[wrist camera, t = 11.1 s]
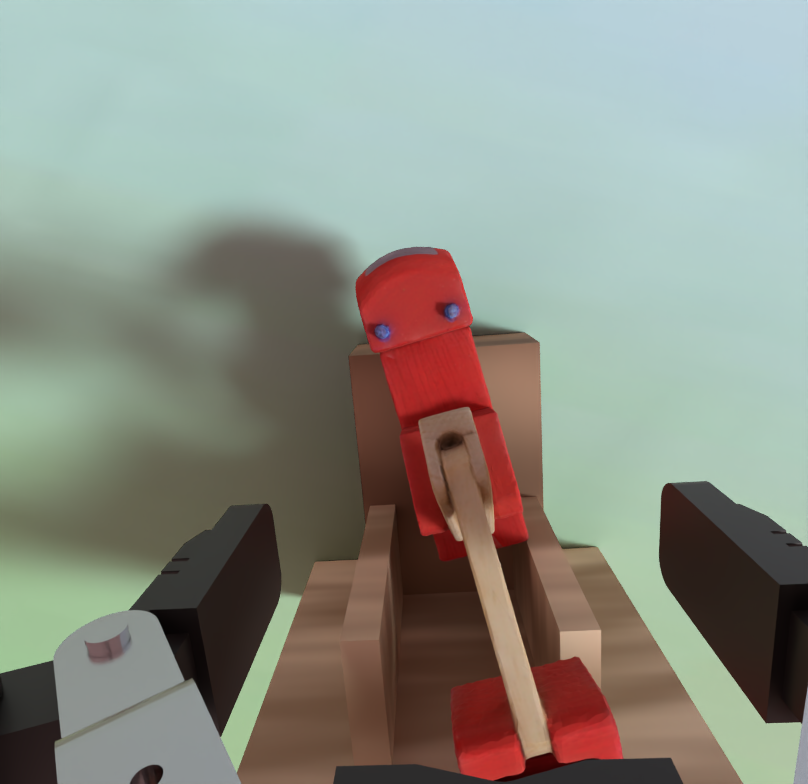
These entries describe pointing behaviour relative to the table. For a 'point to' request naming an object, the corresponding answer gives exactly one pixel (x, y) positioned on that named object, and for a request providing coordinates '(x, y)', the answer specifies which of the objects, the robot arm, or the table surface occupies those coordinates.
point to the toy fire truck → (474, 518)
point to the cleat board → (455, 617)
